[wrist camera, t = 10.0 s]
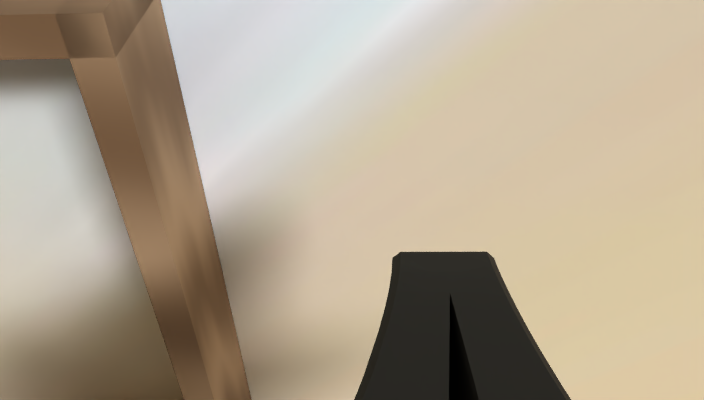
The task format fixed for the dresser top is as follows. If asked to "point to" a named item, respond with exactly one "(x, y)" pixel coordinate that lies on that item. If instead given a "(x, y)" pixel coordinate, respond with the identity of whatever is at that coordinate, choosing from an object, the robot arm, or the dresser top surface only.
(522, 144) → the dresser top surface
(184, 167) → the open box
